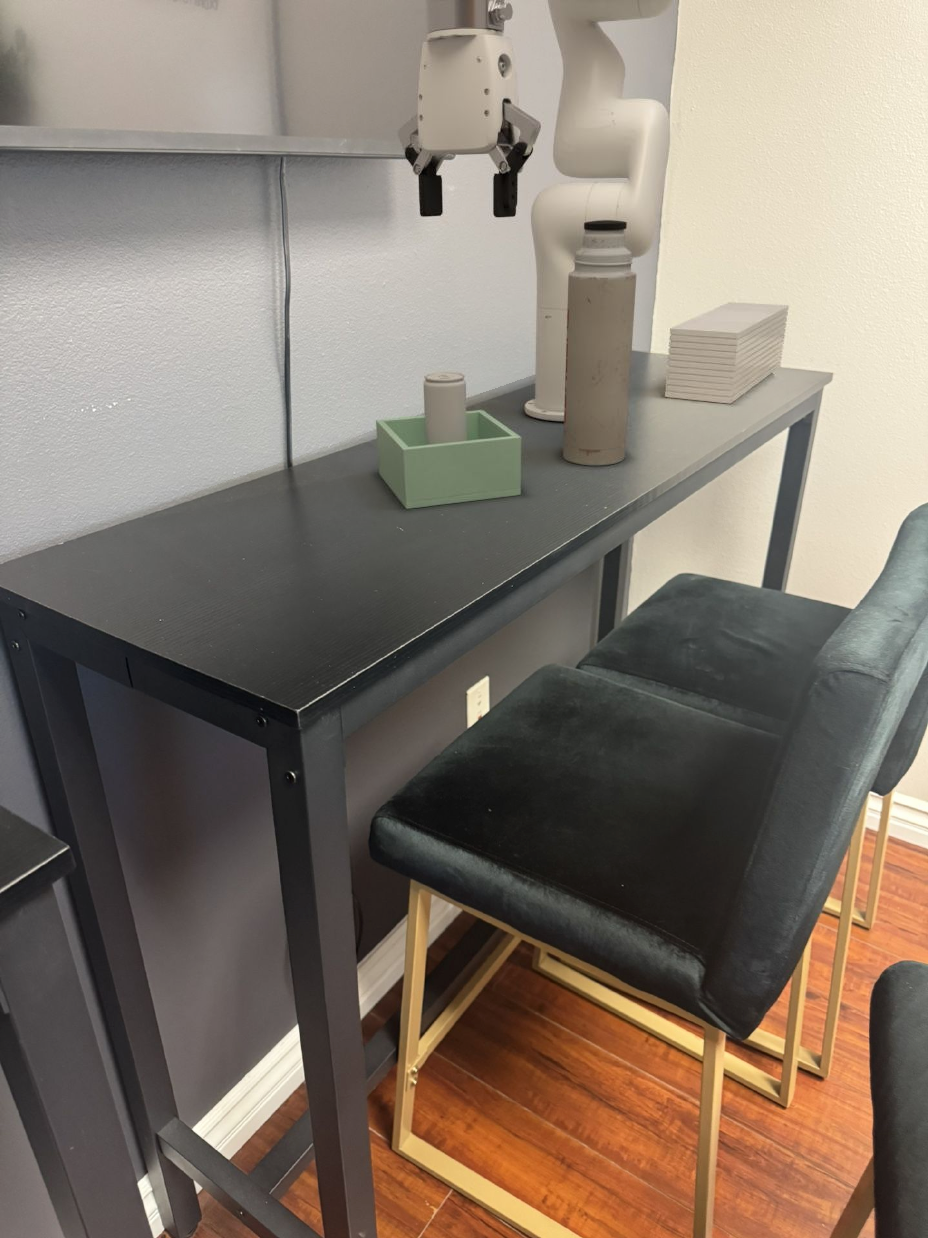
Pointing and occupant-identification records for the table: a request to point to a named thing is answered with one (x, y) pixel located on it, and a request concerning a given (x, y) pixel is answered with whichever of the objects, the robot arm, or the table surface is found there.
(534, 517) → the table surface
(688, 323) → the stack of papers
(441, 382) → the beverage can
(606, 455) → the thermos bottle
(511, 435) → the open box
